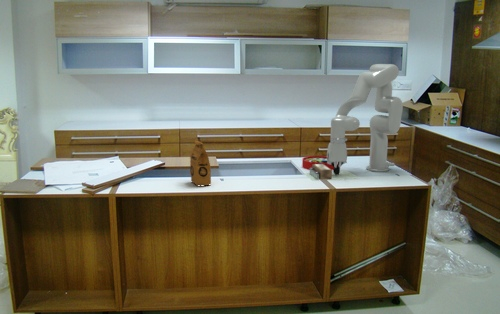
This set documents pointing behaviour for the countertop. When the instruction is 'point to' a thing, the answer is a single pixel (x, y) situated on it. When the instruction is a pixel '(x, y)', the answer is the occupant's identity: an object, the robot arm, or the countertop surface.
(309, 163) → the toy clock
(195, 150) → the coffee package
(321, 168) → the brown rectangular block
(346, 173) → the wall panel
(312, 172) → the screw rail
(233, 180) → the countertop surface
